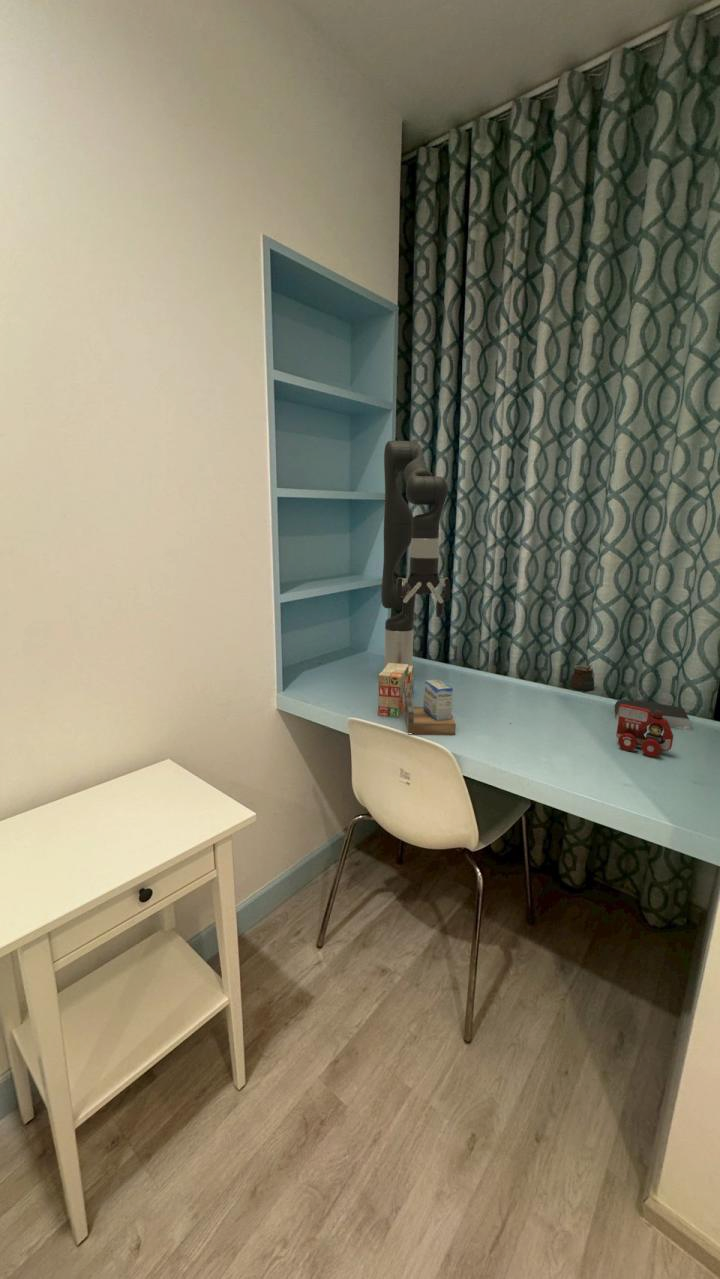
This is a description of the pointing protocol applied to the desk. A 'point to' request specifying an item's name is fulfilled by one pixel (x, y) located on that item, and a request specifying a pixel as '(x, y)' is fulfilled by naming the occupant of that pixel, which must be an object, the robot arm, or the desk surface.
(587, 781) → the desk surface
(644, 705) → the grey flat block
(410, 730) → the dock
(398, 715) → the stack of blocks
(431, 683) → the medicine box
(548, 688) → the desk surface
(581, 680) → the mate gourd
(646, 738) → the toy fire truck
